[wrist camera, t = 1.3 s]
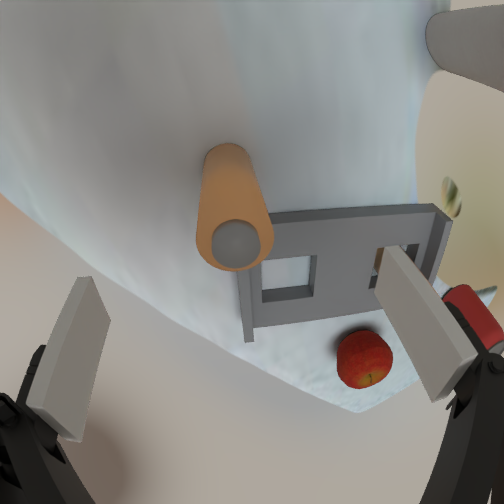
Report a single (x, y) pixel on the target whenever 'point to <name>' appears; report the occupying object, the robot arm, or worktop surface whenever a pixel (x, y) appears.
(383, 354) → the apple
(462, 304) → the beer can
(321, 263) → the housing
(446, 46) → the coffee cup
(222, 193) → the peg
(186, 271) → the worktop surface
